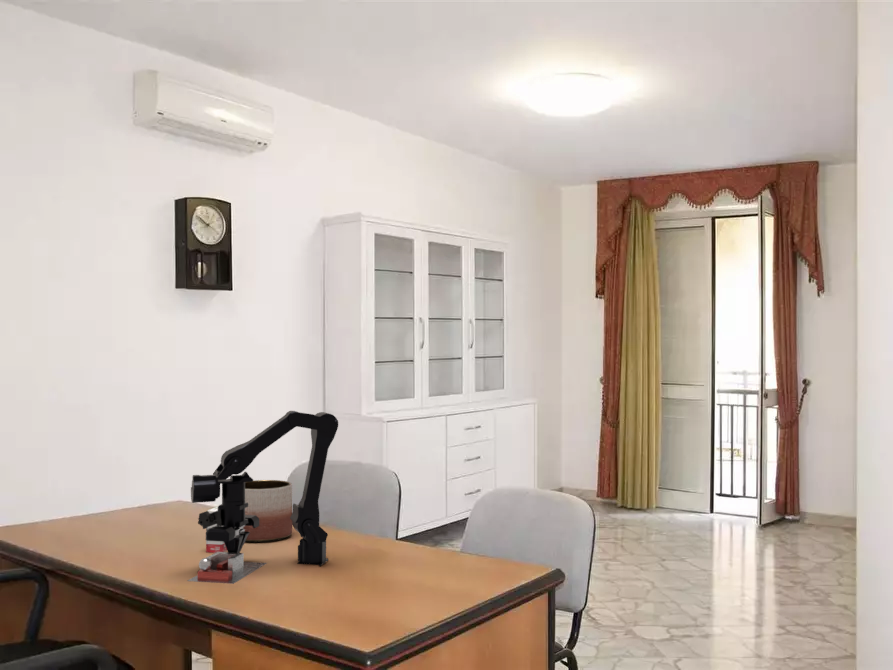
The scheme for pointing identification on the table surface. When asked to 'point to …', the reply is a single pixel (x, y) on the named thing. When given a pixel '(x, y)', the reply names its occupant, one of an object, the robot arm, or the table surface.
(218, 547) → the ink box
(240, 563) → the block
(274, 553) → the table surface
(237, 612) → the table surface
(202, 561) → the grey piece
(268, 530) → the planter
